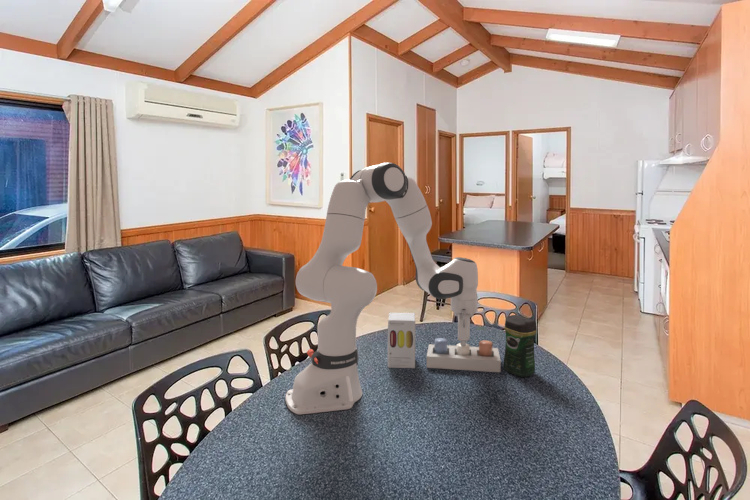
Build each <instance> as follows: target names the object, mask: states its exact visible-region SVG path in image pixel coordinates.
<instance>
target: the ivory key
mask: <svg viewBox="0 0 750 500" xmlns="http://www.w3.org/2000/svg"><path fill="white" fill-rule="evenodd" d="M456 346H457V350H456V355H465V356H469V355H470V347H471V346H470V344H469V343H466V346H461V345H460V342H459V343H457V344H456Z"/></svg>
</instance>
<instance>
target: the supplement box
mask: <svg viewBox="0 0 750 500" xmlns="http://www.w3.org/2000/svg"><path fill="white" fill-rule="evenodd" d="M387 322H388V323H387V368H388V369H389V368H391V369H394V368H395V369H415V368H416V314H415V312H389V313H388V320H387Z"/></svg>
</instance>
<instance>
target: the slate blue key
mask: <svg viewBox="0 0 750 500" xmlns="http://www.w3.org/2000/svg"><path fill="white" fill-rule="evenodd" d="M433 345H434V351H435V353H438V354H445V353H447V345H448V339H447V338H444V337H436V338H435V339H434V344H433Z"/></svg>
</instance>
